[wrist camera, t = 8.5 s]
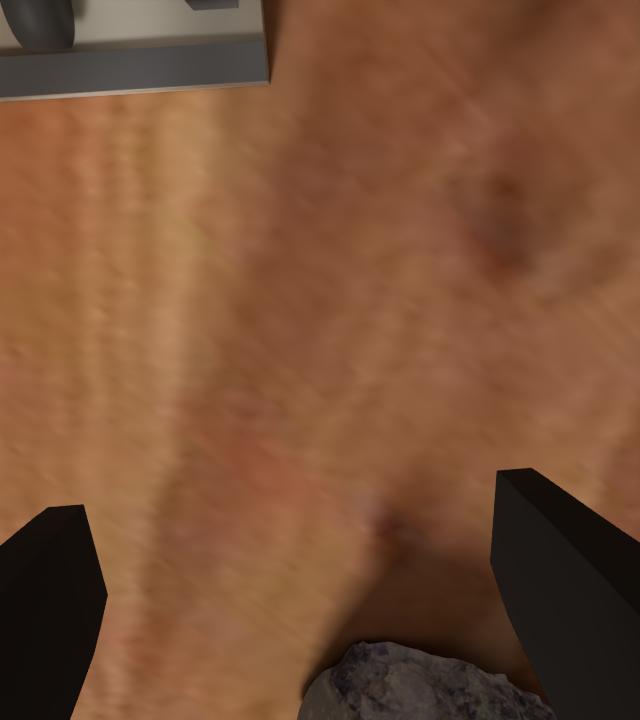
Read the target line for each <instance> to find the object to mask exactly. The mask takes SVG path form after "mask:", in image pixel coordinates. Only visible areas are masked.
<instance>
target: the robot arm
mask: <svg viewBox="0 0 640 720" xmlns="http://www.w3.org/2000/svg"><path fill="white" fill-rule="evenodd" d="M490 563H491V566H492V569H493V572H494V575H495V579H496V582H497V585H498V588H499V591H500V594H501V597H502V600H503V603H504V605H505V608H506V611H507V614H508V617H509V619H510V621H511V623H512V626H513V628H514V630H515V632H516V634H517V636H518V638H519V641H520V643H521V645H522V647H523V649H524V651H525V653H526V655H527V658H528V660H529V662H530V664H531V666H532V668H533V670H534V672H535V674H536V676H537V679H538V681H539V683H540V685H541V687H542V689H543V691H544V693H545V695H546V697H547V699H548V702H549V704H550V706H551V708H552V710H553V712H554V714H555V716H556V718H557V720H640V542H638V541H637V540H635V539H634V538H632V537H631V536H629V535H628V534H626V533H625V532H623V531H622V530H620V529H619V528H617V527H616V526H614V525H613V524H611V523H610V522H609V521H607V520H606V519H604V518H603V517H601V516H600V515H598V514H597V513H596V512H594V511H593V510H591V509H590V508H588V507H587V506H586V505H584V504H583V503H581V502H580V501H579V500H577V499H576V498H574V497H573V496H572V495H570V494H569V493H567V492H566V491H564V490H563V489H562V488H560V487H559V486H557V485H556V484H555V483H553V482H552V481H550V480H549V479H547V478H546V477H544V476H543V475H542V474H540V473H538V472H537V471H535V470H534V469H532V468H523V469H511V470H499V471H497V475H496V489H495V503H494V516H493V530H492V544H491V558H490ZM107 596H108V594H107V590H106V586H105V582H104V579H103V575H102V571H101V568H100V564H99V560H98V556H97V553H96V549H95V545H94V541H93V538H92V534H91V530H90V527H89V523H88V519H87V515H86V512H85V508H84V504H82V505H70V506H58V507H48V508H46V509H45V510H44V511H42V512H41V513H40V514H38V515H37V516H36V517H35V518H33V519H32V520H31V521H30V522H28V523H27V524H26V525H25V526H23V527H22V528H21V529H20V530H19V531H17V532H16V533H15V534H14V535H13V536H11V537H10V538H9V539H8V540H7V541H6V542H4V543H3V544H2V545H1V546H0V720H70V718H71V716H72V713H73V710H74V708H75V705H76V702H77V700H78V697H79V694H80V691H81V689H82V686H83V683H84V680H85V678H86V675H87V672H88V669H89V667H90V664H91V661H92V658H93V655H94V652H95V648H96V644H97V640H98V636H99V632H100V628H101V624H102V619H103V614H104V610H105V605H106V601H107Z"/></svg>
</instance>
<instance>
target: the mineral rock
mask: <svg viewBox="0 0 640 720" xmlns="http://www.w3.org/2000/svg"><path fill="white" fill-rule="evenodd" d="M297 720H557V718H556V716H555V714H554V712H553V710H552V708H550V707H549V706H548V705H547V704H546V703H545V702H542V701H541V699H540V697H539V696H538V695H536V694H534V693H532V692H523V691H522V690H521V689H519V688H517V687H515V686H514V685H513V684H512V683H510V682H508V680H507V677H506V675H505V674H490V673H486V672H484V671H482V670H480V669H479V668H477V667H476V666H475V665H473V664H470V663H467V662H465V661H462V660H459V659H454V658H444V657H440V656H436V655H430V654H428V653H426V652H423V651H421V650H417V649H413V648H409V647H405V646H402V645H399V644H396V643H392V642H382V643H375V644H367V643H366V642H364V641H363V640H362V642H361V643H359V644H353V645H352V646H351V647H350V648H349V649H348V651H347V652H346V654H345V655H344V656H343V658H342V659H341V661H340V662H339V663H338V664H337V665H336V666H335V667H333V668H329V669H327V670H325V671H323V672H321V674H320V675H319V676H318V677H317V678H316V679H315V680H314V682H313V683H312V684H311V686H310V687H309V689H308V691H307V693H306V695H305V697H304V700H303V702H302V704H301V707H300V709H299V713H298V718H297Z"/></svg>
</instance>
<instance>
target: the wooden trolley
mask: <svg viewBox="0 0 640 720" xmlns="http://www.w3.org/2000/svg"><path fill="white" fill-rule="evenodd" d="M0 3H1V7H2V10H3V13H4V15H5V18H6V20H7V23H8V25H9V27H10V29H11V31H12V33H13V35H14V36H15V38H16V39H17V41H18V42H19V43H20V45H21V46H22V47H23V48H25V49H26V50H28V51H37V50H55V49H70V48H71V47H72V46H73V43H74V38H75V23H74V14H73V8H72V3H71V0H0Z"/></svg>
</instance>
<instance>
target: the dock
mask: <svg viewBox="0 0 640 720" xmlns="http://www.w3.org/2000/svg"><path fill="white" fill-rule="evenodd" d="M71 3H72V8H73V14H74V23H75V38H74V43H73V46H72V47H71V48H70V49H55V50H37V51H28V50H26V49H25V48H23V47H22V46H21V45H20V43H19V42H18V41H17V39H16V38H15V36H14V35H13V33H12V31H11V29H10V27H9V25H8V23H7V20H6V18H5V15H4V13H3V10H2V7H1V3H0V102H11V101H26V100H42V99H58V98H74V97H90V96H106V95H121V94H137V93H153V92H169V91H185V90H201V89H216V88H232V87H248V86H264V85H270V79H269V67H268V56H267V44H266V32H265V20H264V8H263V0H71Z"/></svg>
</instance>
